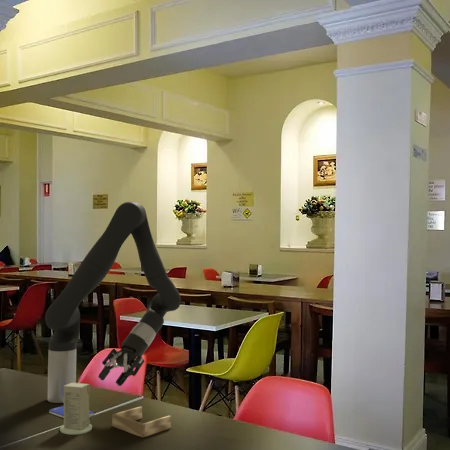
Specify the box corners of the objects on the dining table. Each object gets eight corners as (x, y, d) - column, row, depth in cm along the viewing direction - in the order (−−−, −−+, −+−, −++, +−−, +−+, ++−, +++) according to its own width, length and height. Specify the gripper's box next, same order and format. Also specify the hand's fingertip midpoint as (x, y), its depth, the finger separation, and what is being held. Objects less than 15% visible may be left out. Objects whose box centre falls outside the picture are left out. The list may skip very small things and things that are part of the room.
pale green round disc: (62, 424, 166) (62, 422, 166) (93, 423, 167) (93, 421, 167) (58, 435, 157) (58, 433, 157) (90, 434, 158) (91, 431, 158)
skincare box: (89, 426, 163) (90, 383, 163) (81, 430, 159) (82, 387, 159) (71, 423, 165) (72, 381, 166) (62, 427, 161) (63, 385, 161)
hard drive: (49, 409, 177) (72, 418, 169) (70, 403, 183) (94, 411, 175) (48, 414, 177) (72, 423, 169) (70, 408, 183) (94, 416, 175)
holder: (140, 417, 173) (140, 406, 173) (170, 427, 164) (171, 415, 164) (112, 426, 165) (112, 414, 165) (142, 437, 156) (142, 424, 156)
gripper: (118, 329, 183) (88, 370, 174) (148, 335, 173) (117, 379, 165) (130, 343, 187) (101, 384, 178) (160, 350, 177) (130, 393, 168)
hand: (109, 381), depth 171 cm, fingers open, 8 cm apart
